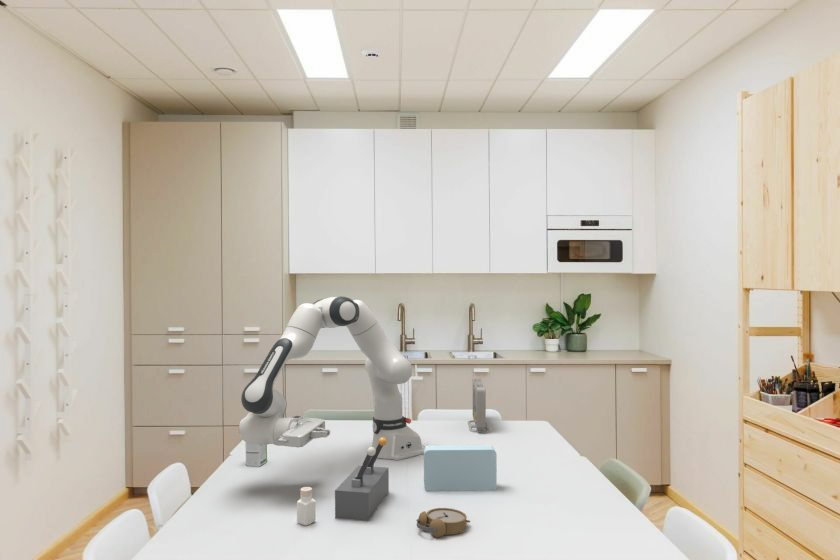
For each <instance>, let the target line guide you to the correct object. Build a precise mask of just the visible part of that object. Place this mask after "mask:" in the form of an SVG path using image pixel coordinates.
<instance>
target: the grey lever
mask: <svg viewBox="0 0 840 560" xmlns="http://www.w3.org/2000/svg"><path fill="white" fill-rule="evenodd" d="M375 453H376V450H375V448H374V447H372V446H369V447H368V448H367V450H366V455H365V458H364V460H363V462H362V464H361V465H360V466H361V469H360V471H359V473H358V475H357V477H356V479H360V481H361V479H362V477H363V475H364V473H365V471H366V468H367V466H368V464H369V462H370V460H371V458H372V456H373V455H375Z"/></svg>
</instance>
